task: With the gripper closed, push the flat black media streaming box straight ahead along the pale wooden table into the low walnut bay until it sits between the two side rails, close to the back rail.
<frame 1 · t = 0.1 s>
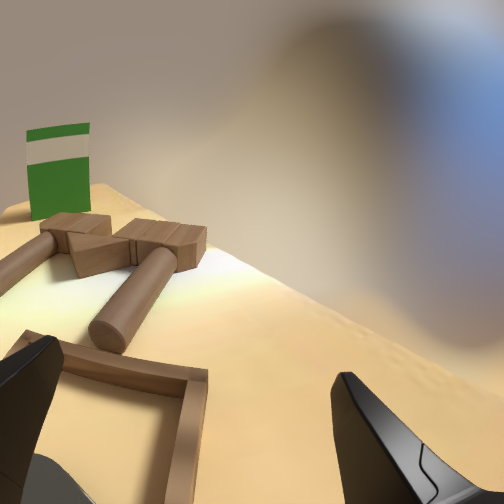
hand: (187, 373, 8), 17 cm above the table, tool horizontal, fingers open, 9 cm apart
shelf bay: (76, 444, 17), on the table
hardback book: (61, 212, 67), on the table
wooden block construction: (86, 277, 42), on the table
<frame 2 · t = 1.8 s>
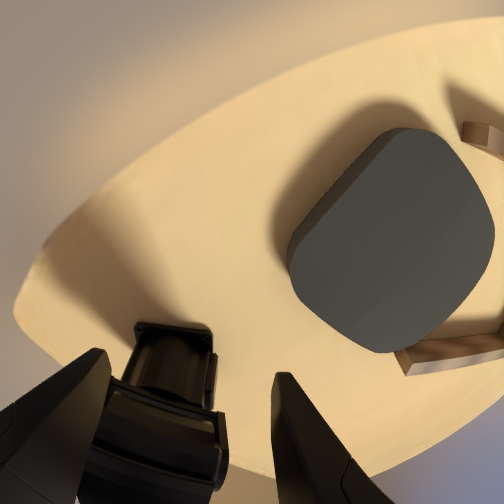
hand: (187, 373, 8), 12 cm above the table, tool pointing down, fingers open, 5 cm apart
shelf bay: (492, 260, 20), on the table
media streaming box: (398, 245, 20), on the table
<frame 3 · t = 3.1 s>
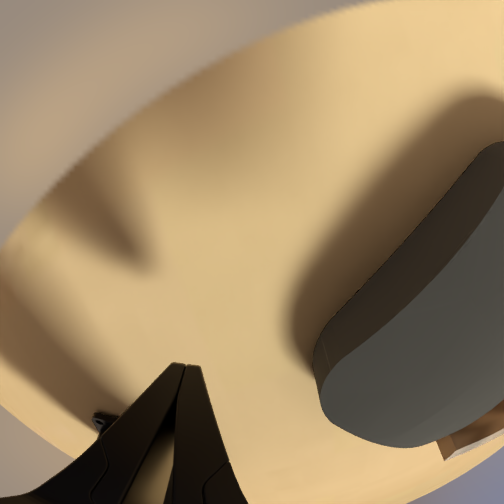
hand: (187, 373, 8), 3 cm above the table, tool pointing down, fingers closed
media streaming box: (470, 316, 11), on the table
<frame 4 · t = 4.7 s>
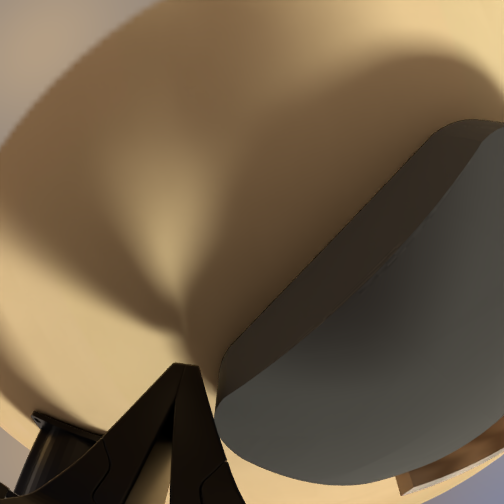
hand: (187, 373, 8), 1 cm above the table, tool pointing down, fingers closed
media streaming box: (435, 345, 10), on the table, touching gripper
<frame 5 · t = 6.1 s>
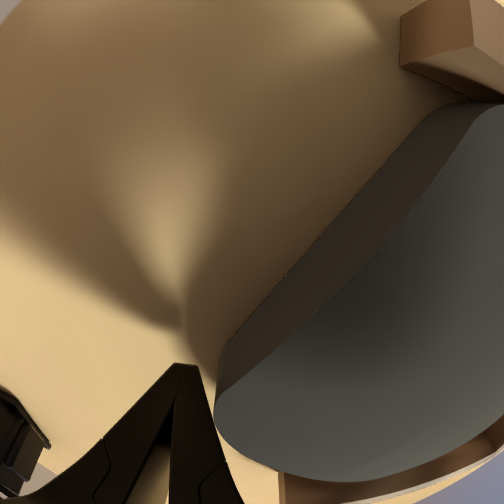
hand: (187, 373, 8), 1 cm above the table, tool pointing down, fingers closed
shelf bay: (484, 347, 9), on the table
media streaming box: (439, 336, 9), on the table, touching gripper
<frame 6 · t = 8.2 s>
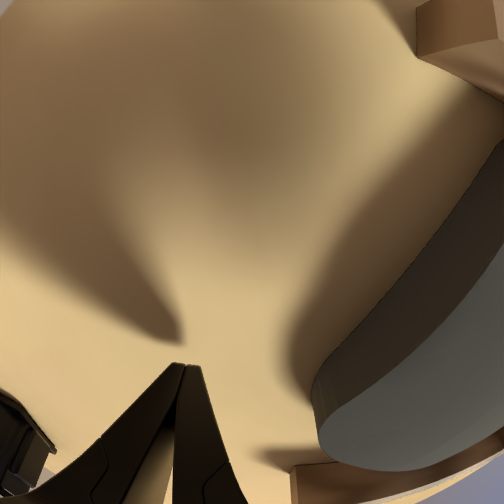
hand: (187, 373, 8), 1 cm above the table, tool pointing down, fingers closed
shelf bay: (497, 343, 9), on the table
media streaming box: (489, 330, 9), on the table
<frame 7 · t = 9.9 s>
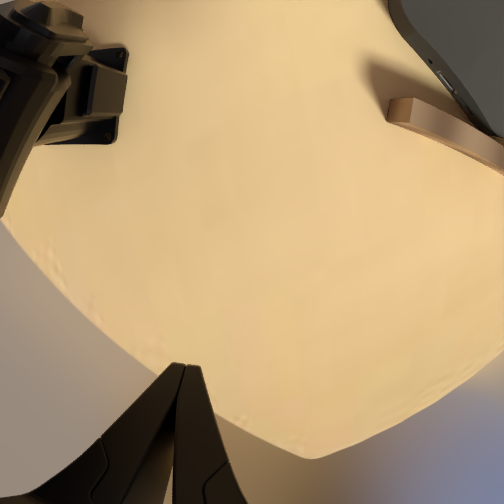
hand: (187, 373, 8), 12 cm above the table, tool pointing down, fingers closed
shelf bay: (480, 41, 12), on the table
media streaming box: (472, 36, 12), on the table
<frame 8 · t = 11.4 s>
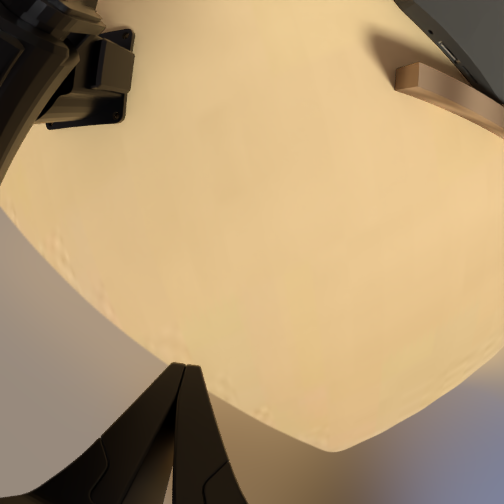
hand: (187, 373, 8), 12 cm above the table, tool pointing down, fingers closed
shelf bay: (476, 14, 11), on the table
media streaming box: (468, 9, 11), on the table
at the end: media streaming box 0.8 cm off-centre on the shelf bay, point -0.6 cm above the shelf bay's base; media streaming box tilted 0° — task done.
